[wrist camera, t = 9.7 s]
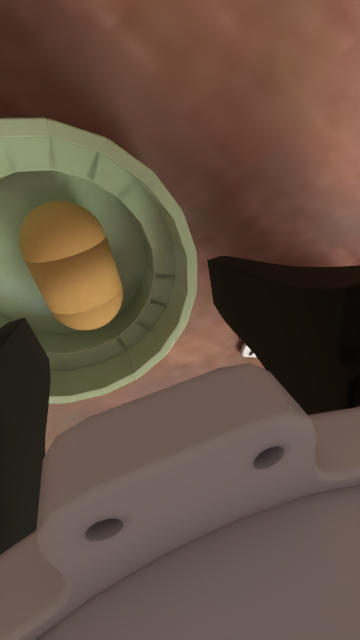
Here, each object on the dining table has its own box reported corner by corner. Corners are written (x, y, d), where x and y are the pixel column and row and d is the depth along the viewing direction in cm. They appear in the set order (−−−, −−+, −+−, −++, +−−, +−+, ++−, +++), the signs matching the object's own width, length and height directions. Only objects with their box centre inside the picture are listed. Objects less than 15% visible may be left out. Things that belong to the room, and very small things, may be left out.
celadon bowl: (194, 170, 19) (233, 179, 14) (145, 354, 25) (162, 401, 20) (-94, 77, 13) (-181, 43, 9) (-67, 344, 19) (-109, 407, 15)
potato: (-8, 212, 15) (14, 221, 12) (71, 189, 17) (107, 191, 14) (53, 327, 19) (80, 356, 16) (110, 297, 21) (144, 318, 18)
